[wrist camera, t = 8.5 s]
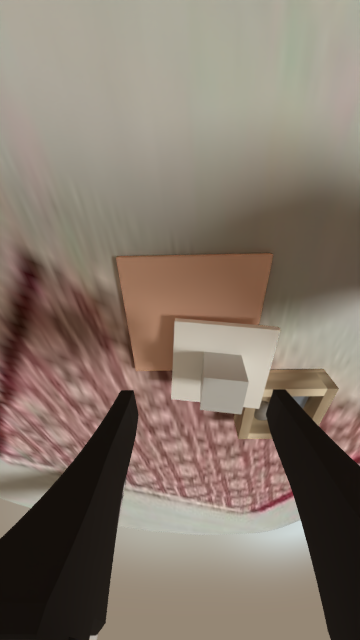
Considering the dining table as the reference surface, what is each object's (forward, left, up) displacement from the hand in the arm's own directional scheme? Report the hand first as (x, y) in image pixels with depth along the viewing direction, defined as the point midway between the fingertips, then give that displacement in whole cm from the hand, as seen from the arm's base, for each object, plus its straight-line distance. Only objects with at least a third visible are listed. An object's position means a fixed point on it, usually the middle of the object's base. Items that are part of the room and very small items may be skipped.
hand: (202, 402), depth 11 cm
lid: (-2, +3, -6) cm, 8 cm away
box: (-9, +10, -8) cm, 16 cm away
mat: (0, 0, -8) cm, 8 cm away
